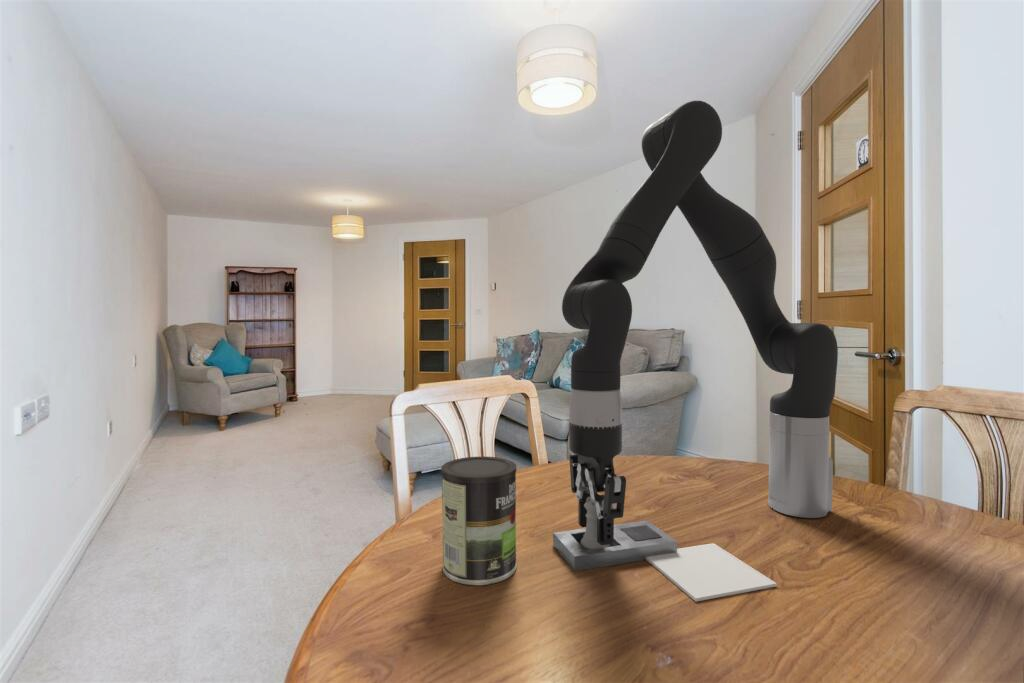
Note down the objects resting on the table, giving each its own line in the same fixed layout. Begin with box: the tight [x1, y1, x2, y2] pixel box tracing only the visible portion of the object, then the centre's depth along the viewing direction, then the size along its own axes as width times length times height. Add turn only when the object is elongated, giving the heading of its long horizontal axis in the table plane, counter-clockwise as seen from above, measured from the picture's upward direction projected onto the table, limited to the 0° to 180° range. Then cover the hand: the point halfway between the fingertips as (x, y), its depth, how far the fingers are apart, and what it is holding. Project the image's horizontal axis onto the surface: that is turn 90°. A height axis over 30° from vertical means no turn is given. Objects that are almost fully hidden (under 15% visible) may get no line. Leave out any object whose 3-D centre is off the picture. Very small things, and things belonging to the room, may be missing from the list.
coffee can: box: [440, 456, 517, 586], centre depth 69 cm, size 10×10×14 cm
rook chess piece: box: [580, 497, 610, 550], centre depth 73 cm, size 4×4×8 cm
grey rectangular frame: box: [552, 519, 678, 572], centre depth 73 cm, size 16×8×2 cm, turn 106°
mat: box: [645, 542, 778, 603], centre depth 67 cm, size 12×12×1 cm
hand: (595, 533), depth 73 cm, fingers open, 5 cm apart
